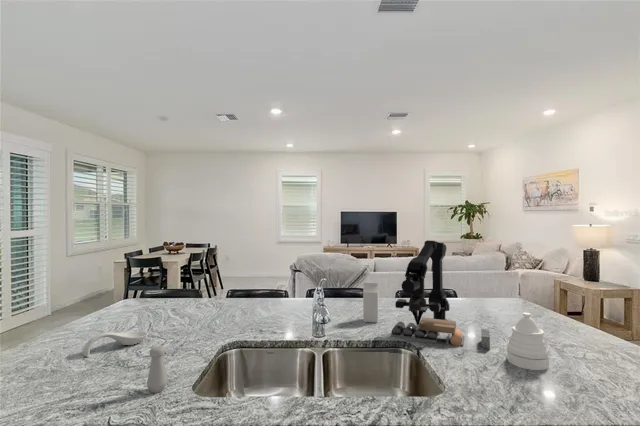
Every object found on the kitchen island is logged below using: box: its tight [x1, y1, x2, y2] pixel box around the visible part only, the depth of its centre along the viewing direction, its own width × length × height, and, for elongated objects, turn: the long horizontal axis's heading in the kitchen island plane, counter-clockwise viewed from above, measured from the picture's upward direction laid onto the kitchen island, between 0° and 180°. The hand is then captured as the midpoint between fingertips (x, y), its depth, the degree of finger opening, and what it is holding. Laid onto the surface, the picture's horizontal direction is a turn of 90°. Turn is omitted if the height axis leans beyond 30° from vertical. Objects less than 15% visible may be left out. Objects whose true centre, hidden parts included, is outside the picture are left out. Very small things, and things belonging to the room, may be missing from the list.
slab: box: [418, 317, 457, 335], centre depth 149 cm, size 10×14×2 cm
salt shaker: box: [146, 345, 168, 394], centre depth 106 cm, size 6×6×13 cm
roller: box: [450, 328, 463, 346], centre depth 146 cm, size 10×4×4 cm, turn 155°
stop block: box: [480, 328, 491, 351], centre depth 141 cm, size 10×3×5 cm, turn 155°
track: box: [390, 321, 465, 347], centre depth 151 cm, size 12×29×4 cm, turn 65°
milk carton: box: [362, 282, 379, 324], centre depth 176 cm, size 7×7×19 cm
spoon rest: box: [81, 330, 149, 358], centre depth 142 cm, size 24×12×7 cm, turn 144°
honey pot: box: [506, 312, 550, 371], centre depth 125 cm, size 13×13×18 cm
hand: (417, 324), depth 153 cm, fingers closed
